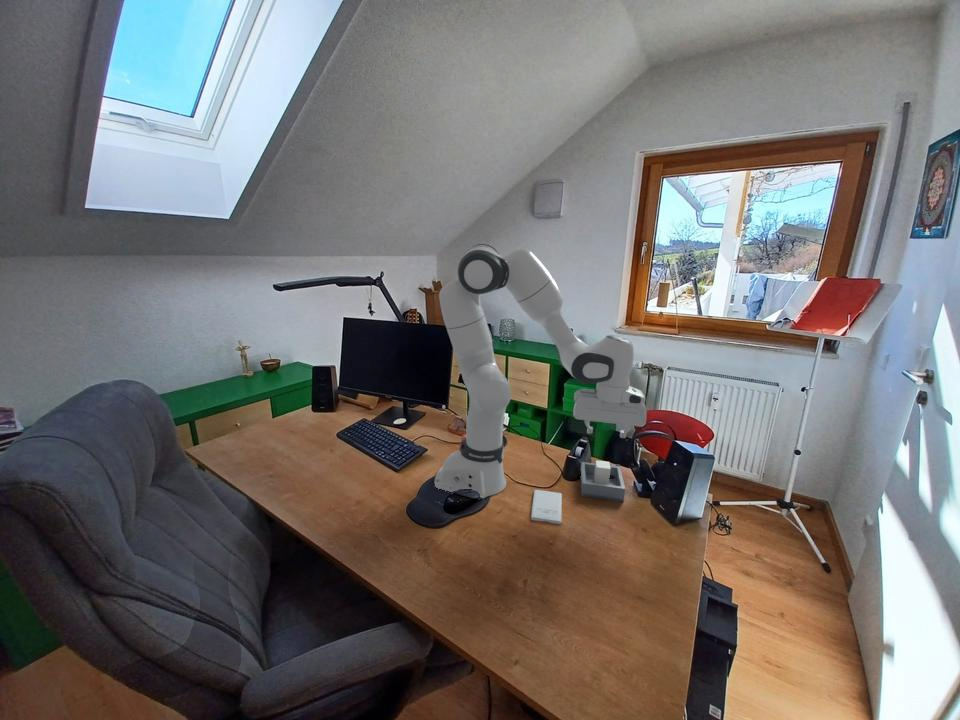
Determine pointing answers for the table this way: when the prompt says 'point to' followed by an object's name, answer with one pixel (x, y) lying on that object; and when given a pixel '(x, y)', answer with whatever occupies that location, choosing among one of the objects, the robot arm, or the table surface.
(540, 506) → the external hard drive
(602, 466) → the cream block
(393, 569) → the table surface
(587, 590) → the table surface
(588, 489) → the bin
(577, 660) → the table surface
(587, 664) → the table surface
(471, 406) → the robot arm
